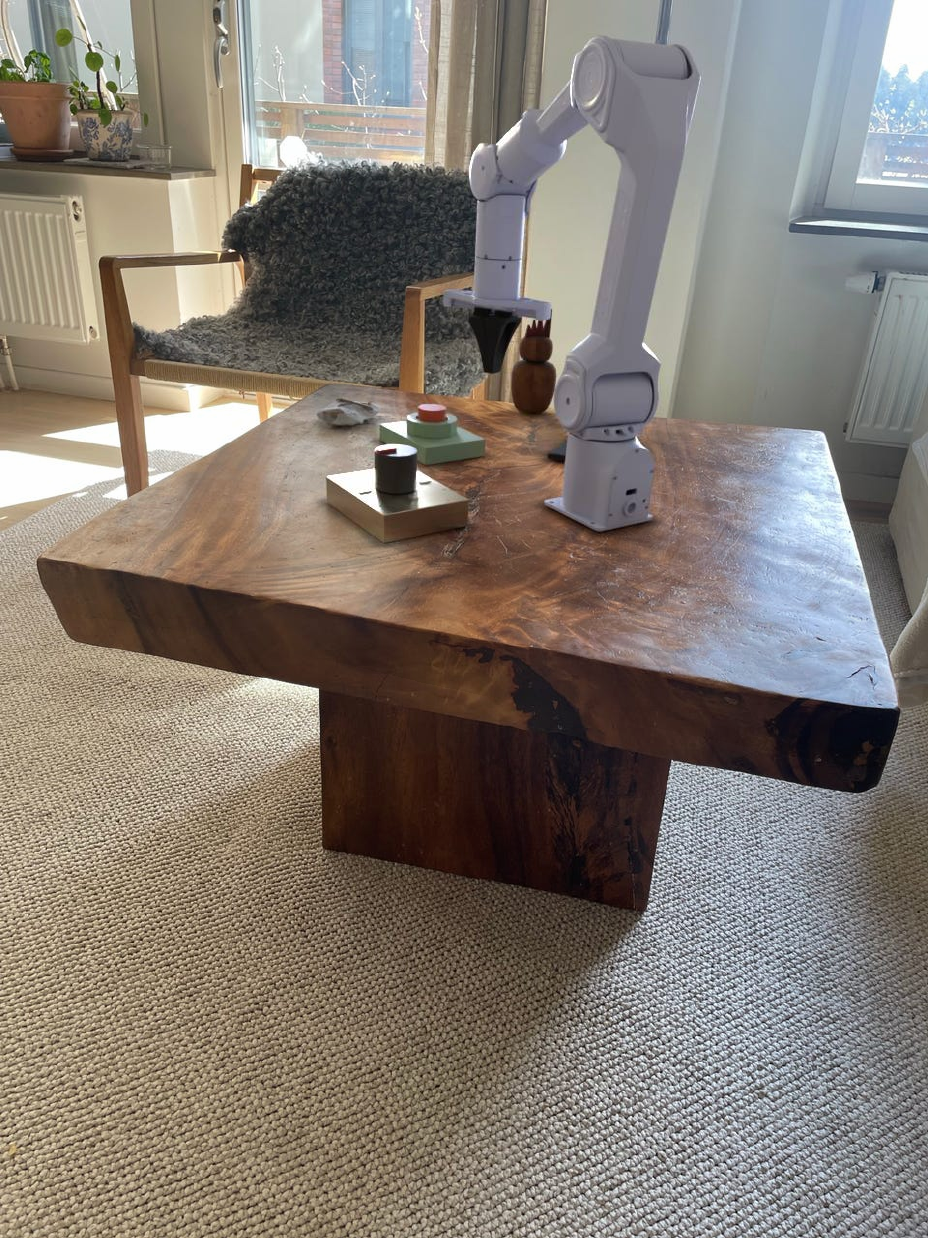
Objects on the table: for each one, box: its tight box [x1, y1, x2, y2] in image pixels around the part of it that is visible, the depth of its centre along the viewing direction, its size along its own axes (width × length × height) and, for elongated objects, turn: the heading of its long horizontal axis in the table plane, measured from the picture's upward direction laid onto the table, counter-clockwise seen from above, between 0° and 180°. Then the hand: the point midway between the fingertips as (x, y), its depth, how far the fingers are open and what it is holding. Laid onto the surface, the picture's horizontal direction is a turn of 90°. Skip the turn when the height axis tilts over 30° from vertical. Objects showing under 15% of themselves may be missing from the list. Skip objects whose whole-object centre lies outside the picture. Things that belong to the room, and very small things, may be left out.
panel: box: [325, 468, 470, 544], centre depth 94 cm, size 13×10×3 cm
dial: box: [374, 444, 418, 494], centre depth 93 cm, size 4×4×4 cm
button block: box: [379, 411, 487, 466], centre depth 116 cm, size 12×9×4 cm
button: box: [417, 403, 447, 422], centre depth 115 cm, size 4×4×2 cm
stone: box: [316, 397, 381, 427], centre depth 126 cm, size 10×7×3 cm
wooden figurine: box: [510, 308, 557, 414], centre depth 133 cm, size 7×6×15 cm
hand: (492, 371), depth 114 cm, fingers closed
